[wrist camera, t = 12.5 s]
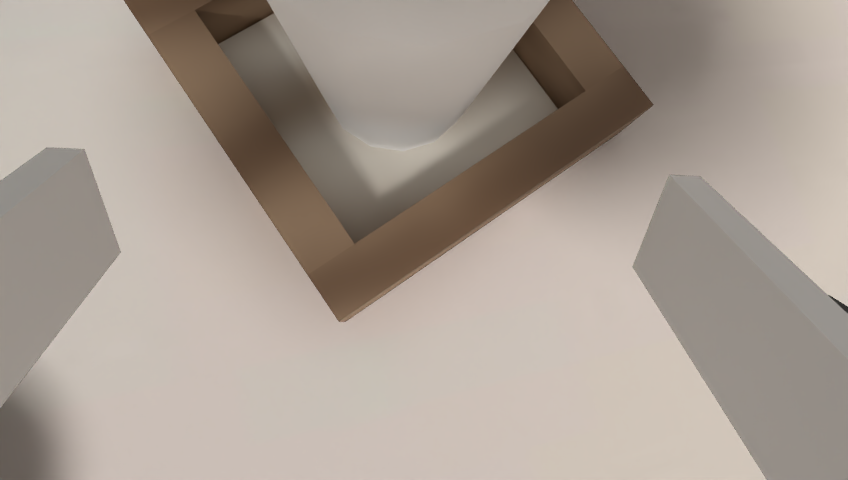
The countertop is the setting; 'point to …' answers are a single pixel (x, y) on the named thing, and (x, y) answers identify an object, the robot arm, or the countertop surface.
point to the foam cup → (403, 59)
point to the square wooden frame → (377, 167)
